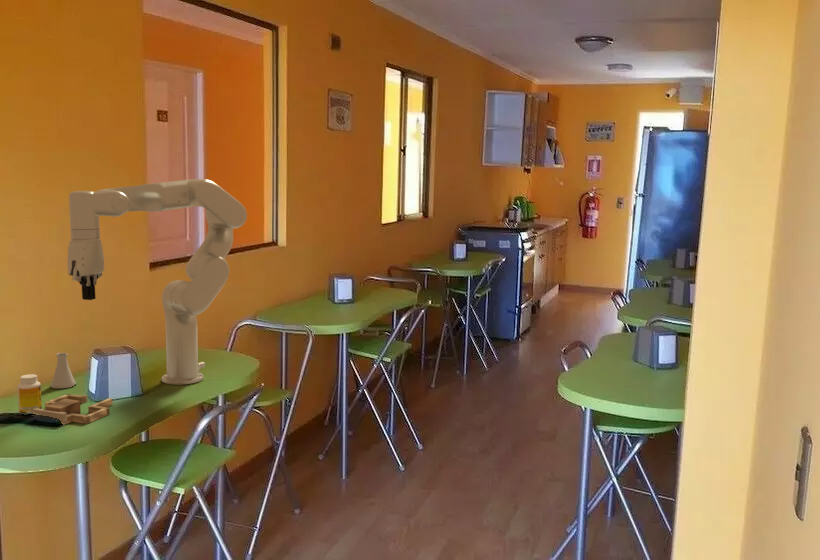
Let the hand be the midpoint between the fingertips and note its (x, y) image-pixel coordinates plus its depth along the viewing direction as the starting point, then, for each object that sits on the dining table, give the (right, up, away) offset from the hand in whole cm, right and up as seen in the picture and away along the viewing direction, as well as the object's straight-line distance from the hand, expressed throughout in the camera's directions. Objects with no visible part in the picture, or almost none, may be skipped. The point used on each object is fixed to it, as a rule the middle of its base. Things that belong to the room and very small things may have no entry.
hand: (89, 299), depth 210 cm
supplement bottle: (-11, -31, -12) cm, 34 cm away
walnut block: (0, -31, -15) cm, 35 cm away
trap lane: (+1, -30, -11) cm, 32 cm away
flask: (-14, -27, +14) cm, 33 cm away
